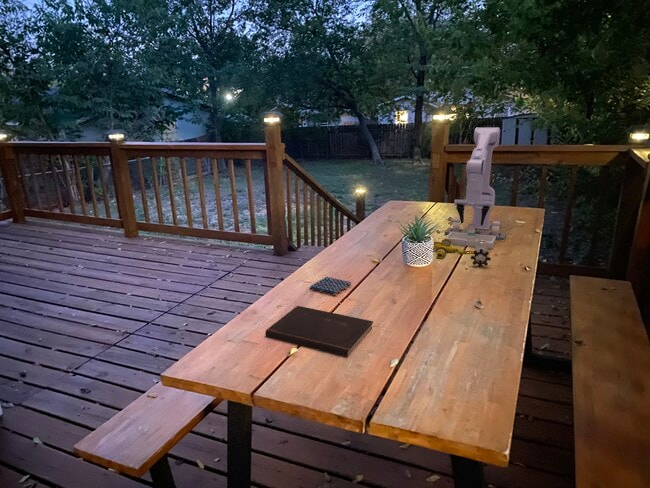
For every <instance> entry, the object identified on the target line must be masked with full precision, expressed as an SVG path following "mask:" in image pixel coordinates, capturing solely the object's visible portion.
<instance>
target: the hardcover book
mask: <svg viewBox="0 0 650 488" xmlns="http://www.w3.org/2000/svg"><path fill="white" fill-rule="evenodd" d="M374 323H375V321H373V320H368V319H364V318H359V317H355V316H348V315H345V314H339V313H334V312H331V311H330V312H329V311H326V310H320V309H315V308H311V307H306V306H303V305H296V306H295V307H294V308H293V309H291V310H290V311H289V312H287V313H286V314H285V315H283V316H282V317H281V318H279V319H278V320H277V321H276V322H274V323H273V324H272V325H270V326H269V327H268V328H266V330H265V333H264V334H265V338H270V339H273V340H278V341H281V342H285V343H290V344H294V345H297V346H302V347H306V348H308V349H313V350H317V351H321V352H324V353H329V354H332V355H336V356H341V357H345V358H348V357H349V355H350V354H351V353H352V351H353V350H354V349H355V348H356V347H357V345H358V344H359V343H360V342H361V341H362V340H363V339H364V338H365V337H366V335H367V334H368V333H369V332H370V330H372V329H373V326H372V325H373V324H374Z"/></svg>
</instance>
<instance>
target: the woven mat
mask: <svg viewBox="0 0 650 488" xmlns="http://www.w3.org/2000/svg"><path fill="white" fill-rule="evenodd" d="M351 287H352V282H351V281H349V280H345V279H343V280H342V279H341V278H340V279H338V278H333V277H331V276H330V277H328V276H326V277H323V278H322V279H320V280H319V281H317V282H315V283H313V284H311V285H310V287H309V290H310V291H311V292H317V293H320V294H324V295H328V296H332V297H337V296H338V295H340V294H342V293H343V292H346V290H348V288H351Z"/></svg>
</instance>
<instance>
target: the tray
mask: <svg viewBox="0 0 650 488" xmlns="http://www.w3.org/2000/svg"><path fill="white" fill-rule="evenodd" d="M444 239H449V240H450V241H451V243H452V246H457V245H461V246H460V247H466V246H471V247H470V248H475V247H476V246H477V240H485V241H487V243H486V247H487V248H490V249H489V250H493V249H494V246H495V244H496V242H497V241H496V236H488V235H478V234H475V241H471V240H467V233H458V232H450V233H449V234H448V236H447V235H446V237H445V238H444Z"/></svg>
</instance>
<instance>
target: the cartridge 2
mask: <svg viewBox="0 0 650 488" xmlns="http://www.w3.org/2000/svg"><path fill="white" fill-rule="evenodd" d="M500 225H501V221H499V220H493V221H492V222H491V232H492V234H491V236H499V233H500Z"/></svg>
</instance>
